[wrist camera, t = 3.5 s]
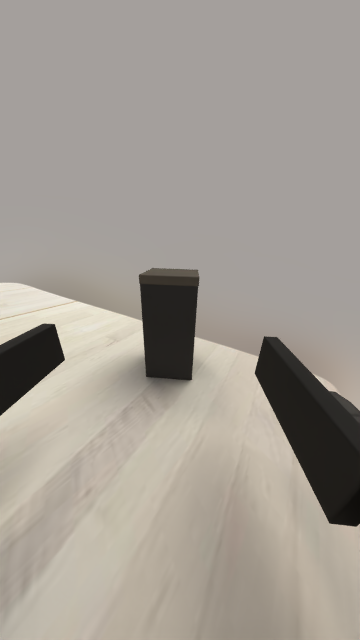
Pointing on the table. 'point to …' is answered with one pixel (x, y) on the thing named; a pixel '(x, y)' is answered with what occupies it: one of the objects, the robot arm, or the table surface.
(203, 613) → the table surface
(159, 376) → the dark capped pillar
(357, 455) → the robot arm
